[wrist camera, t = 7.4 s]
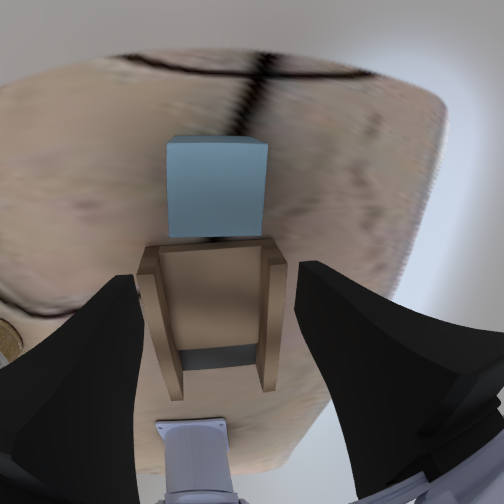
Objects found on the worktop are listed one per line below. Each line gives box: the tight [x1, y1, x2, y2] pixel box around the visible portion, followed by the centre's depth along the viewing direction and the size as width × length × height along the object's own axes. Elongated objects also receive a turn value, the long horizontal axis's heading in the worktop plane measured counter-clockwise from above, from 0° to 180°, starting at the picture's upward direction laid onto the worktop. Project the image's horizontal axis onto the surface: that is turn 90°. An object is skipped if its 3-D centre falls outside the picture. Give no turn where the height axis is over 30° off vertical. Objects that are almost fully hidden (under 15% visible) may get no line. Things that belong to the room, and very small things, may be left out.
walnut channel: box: [137, 239, 288, 401], centre depth 20 cm, size 12×8×4 cm
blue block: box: [167, 136, 268, 238], centre depth 15 cm, size 4×4×4 cm
